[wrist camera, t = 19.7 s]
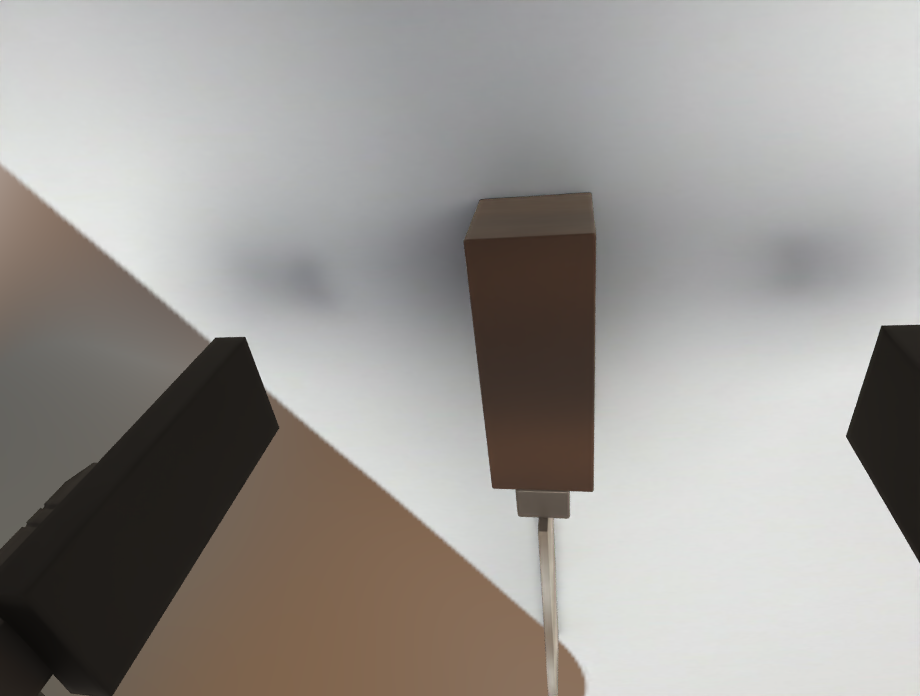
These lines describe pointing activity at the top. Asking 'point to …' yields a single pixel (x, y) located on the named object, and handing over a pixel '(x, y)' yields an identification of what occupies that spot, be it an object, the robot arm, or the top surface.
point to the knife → (537, 360)
